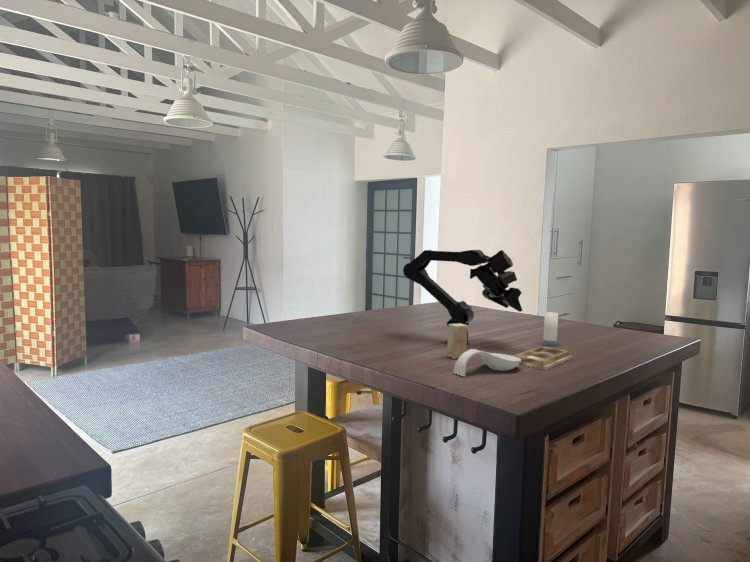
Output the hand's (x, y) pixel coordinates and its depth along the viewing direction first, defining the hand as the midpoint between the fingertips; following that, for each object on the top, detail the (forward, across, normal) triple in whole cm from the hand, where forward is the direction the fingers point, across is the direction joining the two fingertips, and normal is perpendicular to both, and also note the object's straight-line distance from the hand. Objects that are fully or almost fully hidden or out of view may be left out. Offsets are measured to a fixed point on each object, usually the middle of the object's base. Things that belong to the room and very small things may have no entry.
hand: (514, 308), depth 195 cm
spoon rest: (-9, -30, +29) cm, 42 cm away
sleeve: (+20, -2, -1) cm, 20 cm away
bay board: (+7, -22, +12) cm, 26 cm away
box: (-11, -13, +30) cm, 35 cm away
